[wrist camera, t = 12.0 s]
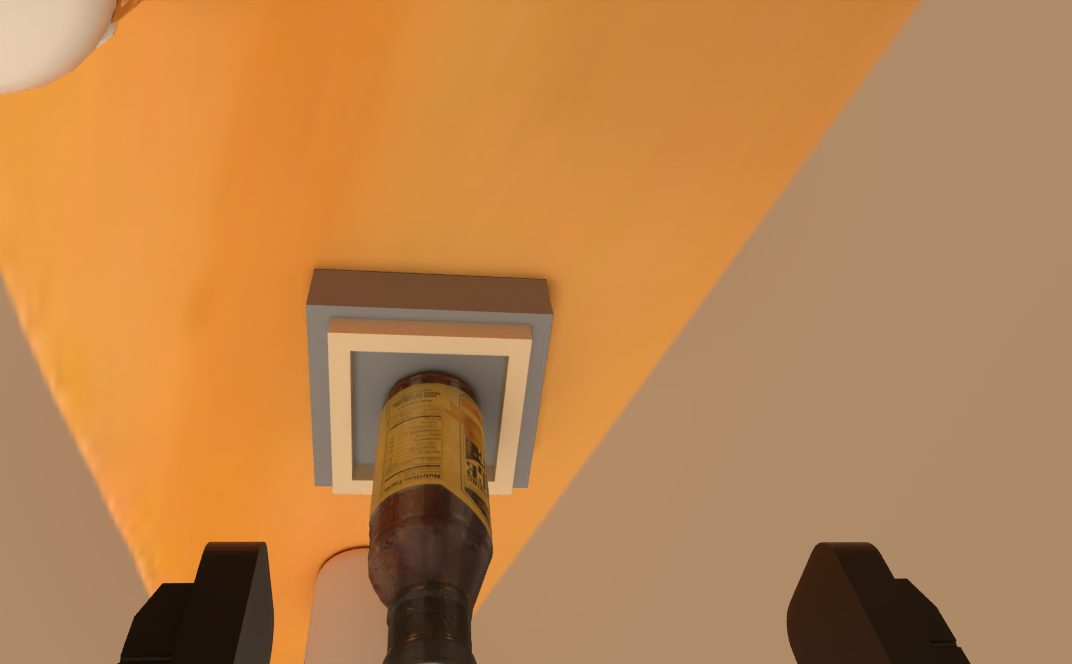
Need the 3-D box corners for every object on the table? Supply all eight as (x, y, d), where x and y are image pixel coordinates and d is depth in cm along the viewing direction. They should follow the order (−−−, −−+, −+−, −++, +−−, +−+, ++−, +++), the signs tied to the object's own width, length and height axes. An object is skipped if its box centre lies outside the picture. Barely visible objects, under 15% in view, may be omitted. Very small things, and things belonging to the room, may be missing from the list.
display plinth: (545, 279, 51) (556, 328, 47) (522, 447, 59) (529, 503, 54) (314, 268, 49) (302, 319, 45) (321, 444, 57) (312, 502, 52)
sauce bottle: (476, 445, 53) (495, 744, 37) (378, 442, 52) (353, 748, 36) (486, 363, 50) (512, 655, 33) (381, 358, 49) (354, 656, 32)
